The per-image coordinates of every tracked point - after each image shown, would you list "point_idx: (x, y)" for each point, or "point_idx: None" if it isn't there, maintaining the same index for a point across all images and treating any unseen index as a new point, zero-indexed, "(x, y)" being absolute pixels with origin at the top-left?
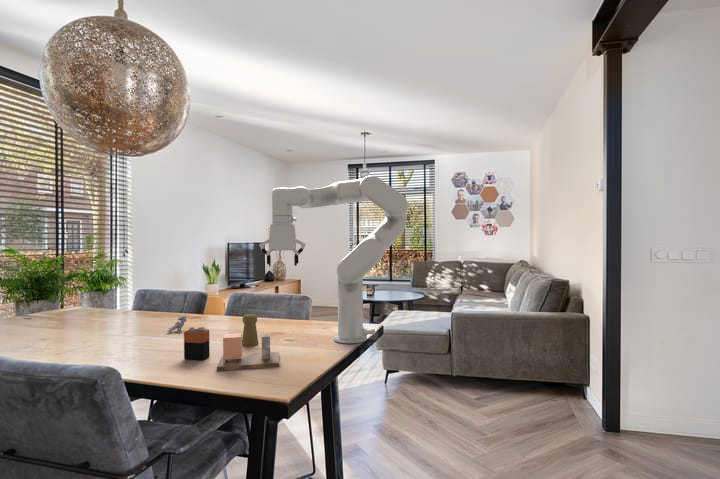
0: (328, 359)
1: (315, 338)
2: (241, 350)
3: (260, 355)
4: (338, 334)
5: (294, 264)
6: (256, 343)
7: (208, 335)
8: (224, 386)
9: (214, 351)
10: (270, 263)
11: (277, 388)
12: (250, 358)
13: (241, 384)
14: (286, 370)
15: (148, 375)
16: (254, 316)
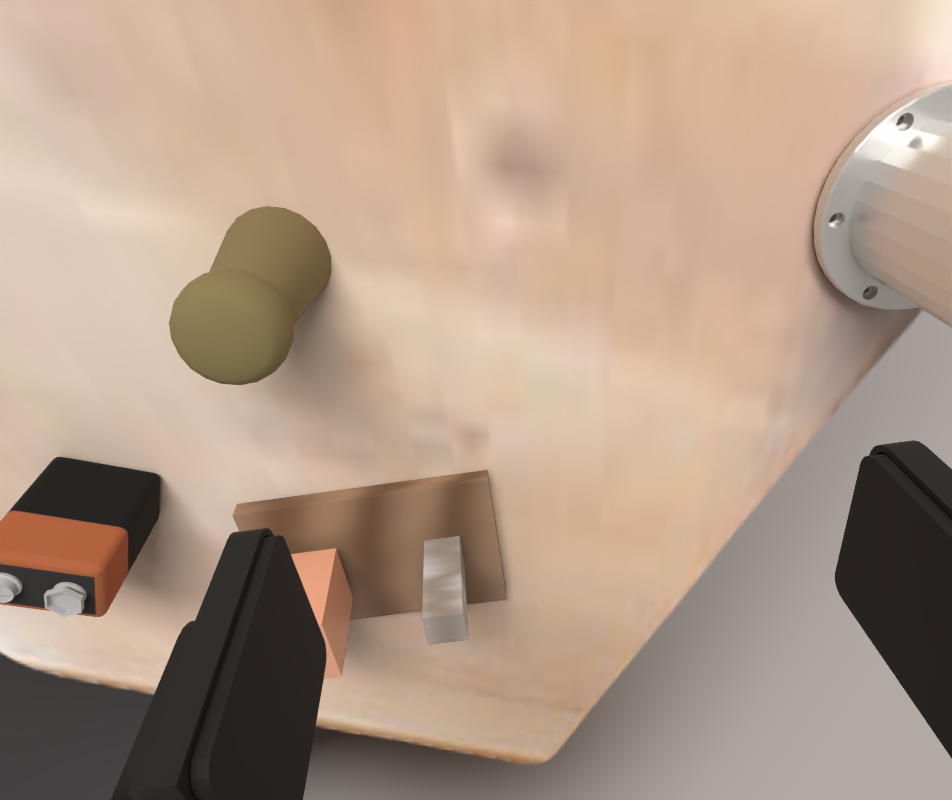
0: (700, 524)
1: (705, 132)
2: (343, 603)
3: (413, 522)
4: (862, 234)
5: (864, 509)
6: (323, 287)
7: (116, 557)
8: (366, 709)
9: (128, 386)
10: (314, 700)
11: (517, 719)
12: (379, 554)
13: (410, 699)
14: (533, 617)
15: (59, 641)
16: (274, 364)
